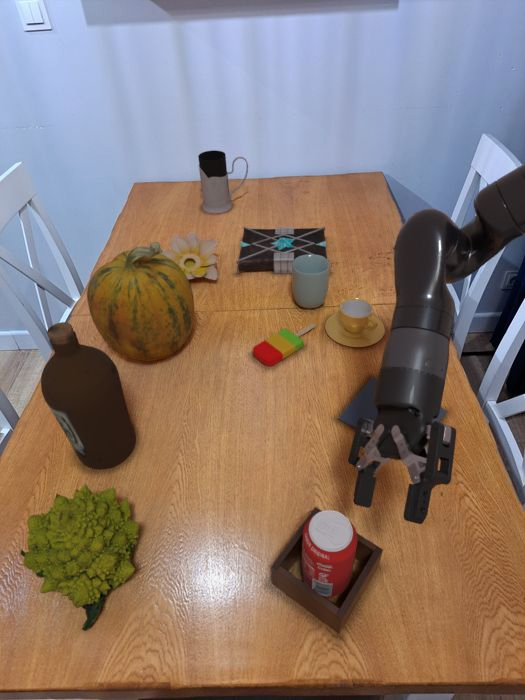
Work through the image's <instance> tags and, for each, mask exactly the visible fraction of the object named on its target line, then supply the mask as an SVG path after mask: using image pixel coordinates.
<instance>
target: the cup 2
mask: <svg viewBox="0 0 525 700" xmlns="http://www.w3.org/2000/svg"><path fill="white" fill-rule="evenodd" d="M373 312H374V307H373V305H372V303H370V302H369V301H368V300H366V299H363V298H358V297H354V298H347V299H345V300H343V301H342V302H341V303H340V305H339V311H336V312H335V313H333V314H331V315H330V316H329V317H328V318H327V320H326V321H325V325H324V328H325V333H326V334H327V335H328V337H329V338H330V339H331V340H333V341H334V342H336V343H338V344H340V345H343V346H346V347H352V348H363V347H369V346H372V345H375V344H376V343H378V342H379V341H381V340H382V339H383V337H384V335H385V333H386V332H385V329H386V328H385V325H384V323H383V322H382V320H381V319H380V318H379V317H378V316H376V315H375V314H373Z"/></svg>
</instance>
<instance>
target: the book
mask: <svg viewBox="0 0 525 700" xmlns="http://www.w3.org/2000/svg"><path fill="white" fill-rule="evenodd" d="M325 231H326V226H322V227H312V228H311V227H310V228H309V227H308V228H307V227H306V228H295V227H294V226H293V227H292V226H291V227H289V226H288V227H287V226H286V227H284V226H282V227H279V226H278V227H275V228H248V227H246V226H243V234H242V239H241V241H240V250H239V254H238V259H237V260H236V264H237V267H238V269H237V270H236V271H237V274H241V273H244V272H247V271H249V272H250V271H251V272H252V271H273V274H292V265H293V261H294V260H295V259H296V258H297V257H299V256H302V255H307V254H314V255H320V256H323V257H325V258H326V259H327V260H328V261H329V262H330V259H329V258H328V255H327V241H326V236H325Z"/></svg>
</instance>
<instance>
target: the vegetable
mask: <svg viewBox="0 0 525 700" xmlns="http://www.w3.org/2000/svg"><path fill="white" fill-rule="evenodd" d="M130 509H131V508H130V502H129V499H128V497H126V498H125V499H124V500H122V501H121V502H119V500H118V499H117V492H116V488H115V487H109V488H107V489H104V490H100V492H97V493H93V492H92V491H91V489H90V487H88V486H87V484H86V483H84V484H83V485H82V487H81V489H80V490H78V489H75V490H74V494H73V497H70V498H68V497H66V496H64V495H62V494H59V493H56V495H55V497H54V499H53V505H52V507H50V508H49V510H48V511H47V513H46V512H45V513H43V512H41V513H40V514H32V515H29V516H28V518H27V521H26V523H27V529H28V531H27V532H26V534H27V535H28V536H27V538H26V545H27V548H28V551H26V552H25V551H24V550H22V549H20V556H21V557H24V558H23V566H24V567H26V569H28V571H30V570H31V571H32V574H34V573H35V576H36V577H38V578H42V579H43V583H42V584H41V588H40V590H39V593H41V594H47V593H51V592H55V591H58V592H60V593H61V597H68V600H69V601H72V604H73V606H74V608H76V609H77V608H82V609H84V610H85V616H86V619H85V621H84V624H83V625H82V627H81V630H82V631H84V632H87V631H88V630H89V629H91V628H92V627H93V625H94V622H95V621H96V619H97V618H98V617H99V615H100V612H101V608H102V607H103V605H104V601H105V599H106V597H107V596H108V594H109V593H110V592H111V591H112V590H115V589H116V588H118V586H119V585H120V584H125V583H126V581H127V580H128V579H129V578H130V577H132V575H133V574H134V572H135V571H136V567H134V565H133V564H132V562H131V561H132V559H131V558H132V557H133V552H134V550H135V547H134V546H135V545H136V544H138V542H137V539H138V538H139V531H140V527H139V521H132V519H131V516H132V511H131V510H130Z"/></svg>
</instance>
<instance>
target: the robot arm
mask: <svg viewBox="0 0 525 700" xmlns="http://www.w3.org/2000/svg"><path fill="white" fill-rule="evenodd" d="M473 208H474V212H475V215H474V216H473V218H471V219H470V220H469V221H468V222H467V223H466V224H465V225H464V226H462V227H459V226H458V224H456V222H455V221H453V219H452V218H451V217H450V216H449V215H447V213H445V212H443V211H441V210H439V209H436V208H424V209H420V210H418V211H415V212H414V213H413V214H412V215H410V216H409V217H408V218H407V219H405V221H404V223H403V224H402V226H401V227H400V229H399V231H398V234H397V236H396V239H395V245H394V250H393V269H394V271H393V273H394V275H393V276H394V290H395V304H394V308H393V313H392V317H391V322H390V327H389V332H388V336H387V338H386V341H385V345H384V347H383V351H382V355H381V360H380V365H379V369H378V375H377V378H376V379H377V384H376V389H375V394H374V398H373V404H374V406H375V407H376V408H377V409H378V414H377V417H376V419H375V421H371V420H368V419H365V418H359V419H358V421H357V425H356V429H355V428H354V429H355V430H354V433H353V436H352V442H351V445H350V449H349V453H348V456H347V457H348V458H347V464H349V465H351V466H353V467H354V468H355V470H356V472H357V475H356V480H355V484H354V490H353V500H352V502H353V504H354V505H355V506H359V507H361V508H367V509H369V508H371V507H372V504H373V500H374V499H373V498H374V494H375V488H376V485H377V479H378V477H376V475H377V474H378V472H379V471H380V470H381V469H382V467H383V466H384V465H387V464H389V463H390V462H391V461H392V460H394V461H401V462H402V464H403V466H405V467H406V469H407V473H408V475H409V478H410V481H411V483H409V484H408V488H407V494H406V499H405V504H404V510H403V515H402V516H403V520H405V521H406V522H409V523H413V524H417V525H423V523H424V521H425V520H426V518H427V516H428V514H429V508H430V502H431V496H432V491H433V489H434V488H435V487H436V486H440V485H445V486H448V485H449V484H450V483H451V482H452V475H453V474H452V473H453V465H454V457H455V448H456V439H457V429H456V428H455V427H453V426H450V425H447V424H445V423H443V422H436V421H435V422H433V420H434V419H436V418H438V417H439V414H440V408H442V402H443V398H444V397H443V396H444V391H445V386H446V379H447V373H448V369H449V363H450V343H451V339H452V332H453V326H454V322H455V321H454V320H455V314H456V313H455V312H456V302H455V299H454V297H453V295H452V293H451V292H450V290H449V289H448V286H447V284H448V285H449V284H453V283H457V282H459V281H463V280H464V279H466V278H468V277H470V276H471V275H472V274H474V273H475V272H476V271H478V270H479V269H480V268H482V267H483V266H484V265H485V264H486V263H488V262H489V261H491V260H492V259H493V258H494V257H496V256H497V255H498V254H499V253H500V252H501V251H503V250H504V249H505V248H506V247H507V246H509V244H511V243H512V242H513V241H515V240H517V239H519V238H521V237H523V236H525V163H523V164H522V165H520V166H518V167H516V168H515V169H513V170H511V171H509V172H507V173H506V174H504V175H503V176H501V177H499V178H498V179H497V180H494V181H493V182H491V183H489V184H488V185H486V186H484V187H483V188H482V189H480V190H479V191H478V192H477V193H476V195H475V196H474V199H473ZM361 448H362V454H361V456H359V455H360V450H361ZM439 462H440V464H439Z"/></svg>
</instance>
